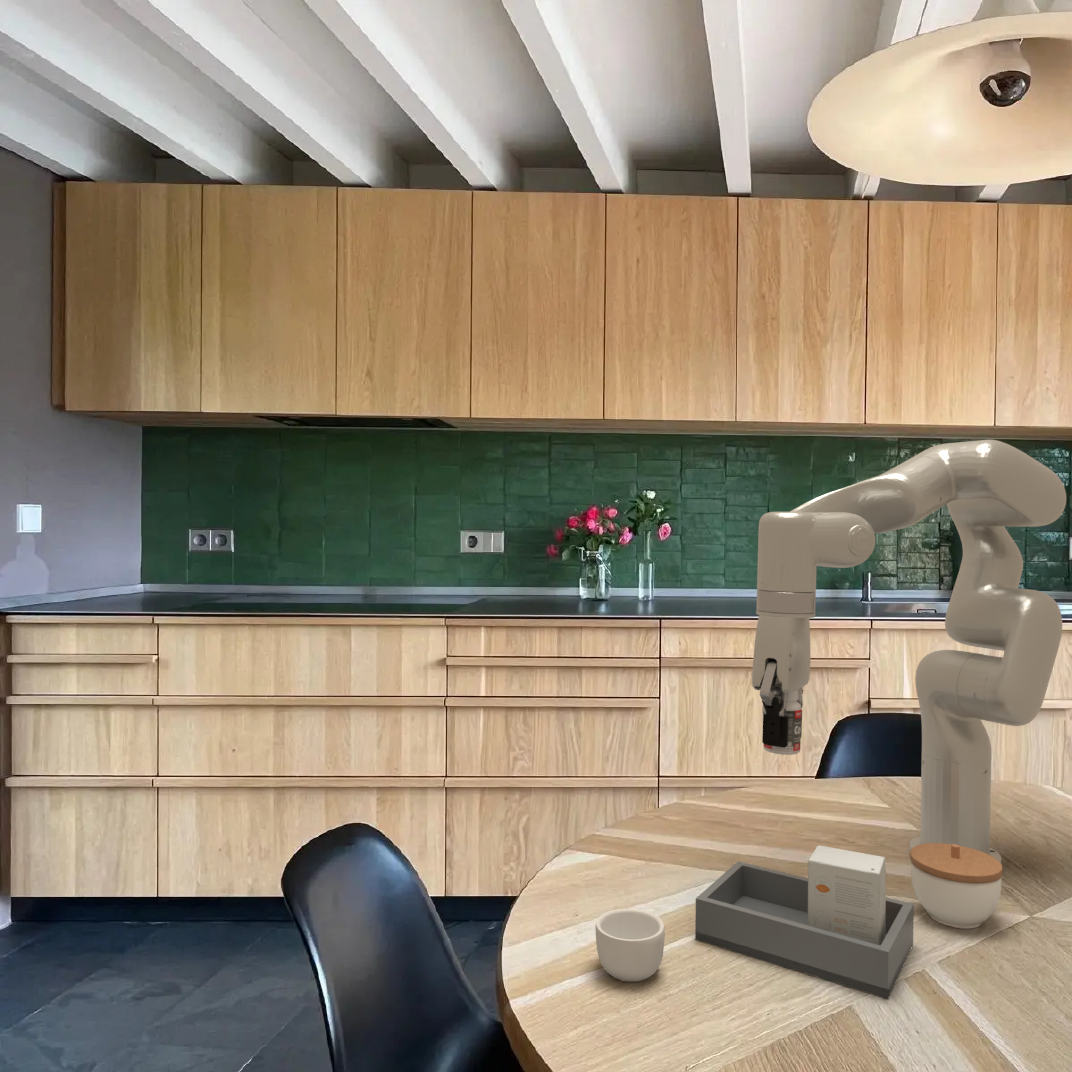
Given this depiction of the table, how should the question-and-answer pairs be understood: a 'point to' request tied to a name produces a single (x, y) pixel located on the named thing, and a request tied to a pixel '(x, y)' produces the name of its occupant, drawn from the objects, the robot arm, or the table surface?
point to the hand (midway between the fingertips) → (782, 740)
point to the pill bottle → (790, 726)
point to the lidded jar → (956, 883)
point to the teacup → (630, 943)
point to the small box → (847, 893)
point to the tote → (798, 930)
